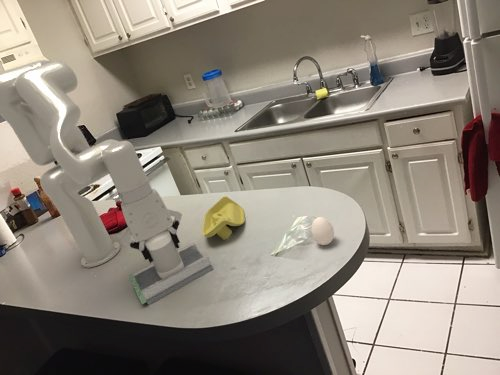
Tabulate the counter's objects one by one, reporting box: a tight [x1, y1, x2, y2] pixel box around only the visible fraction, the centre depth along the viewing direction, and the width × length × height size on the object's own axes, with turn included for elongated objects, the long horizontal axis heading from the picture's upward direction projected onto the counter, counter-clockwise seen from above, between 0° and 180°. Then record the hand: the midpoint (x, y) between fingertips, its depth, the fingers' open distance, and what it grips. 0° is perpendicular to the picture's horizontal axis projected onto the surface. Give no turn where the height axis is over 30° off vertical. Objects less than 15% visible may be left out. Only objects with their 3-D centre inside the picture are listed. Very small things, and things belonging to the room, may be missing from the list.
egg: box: [310, 216, 335, 246], centre depth 104 cm, size 5×5×7 cm
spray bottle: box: [144, 230, 184, 279], centre depth 109 cm, size 7×7×18 cm
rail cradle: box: [128, 242, 214, 306], centre depth 112 cm, size 12×19×4 cm, turn 116°
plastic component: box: [201, 195, 246, 241], centre depth 128 cm, size 20×7×10 cm
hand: (163, 252), depth 110 cm, fingers closed on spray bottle, 6 cm apart
